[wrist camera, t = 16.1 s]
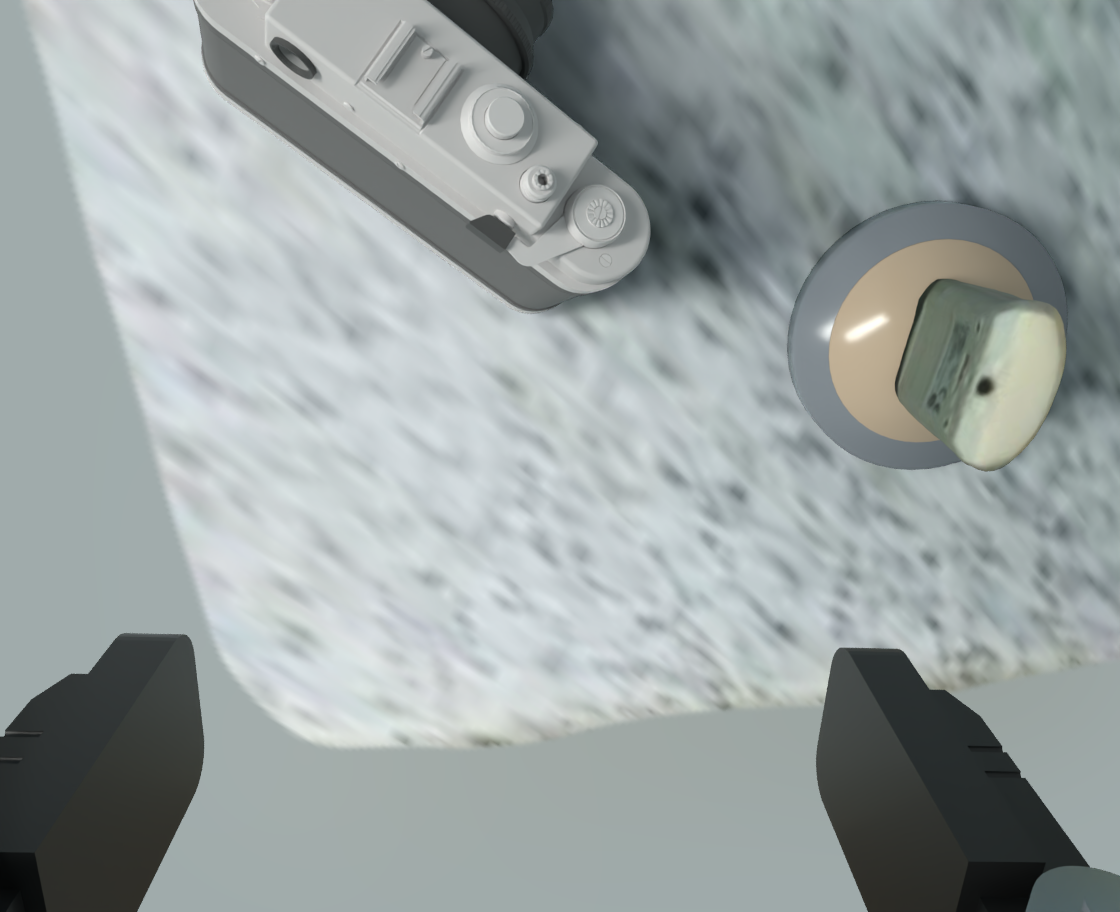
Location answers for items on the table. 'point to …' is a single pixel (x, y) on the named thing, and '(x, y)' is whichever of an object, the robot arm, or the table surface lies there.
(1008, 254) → the coaster
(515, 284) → the camera
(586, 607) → the table surface
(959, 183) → the table surface
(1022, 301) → the off-white rounded piece
